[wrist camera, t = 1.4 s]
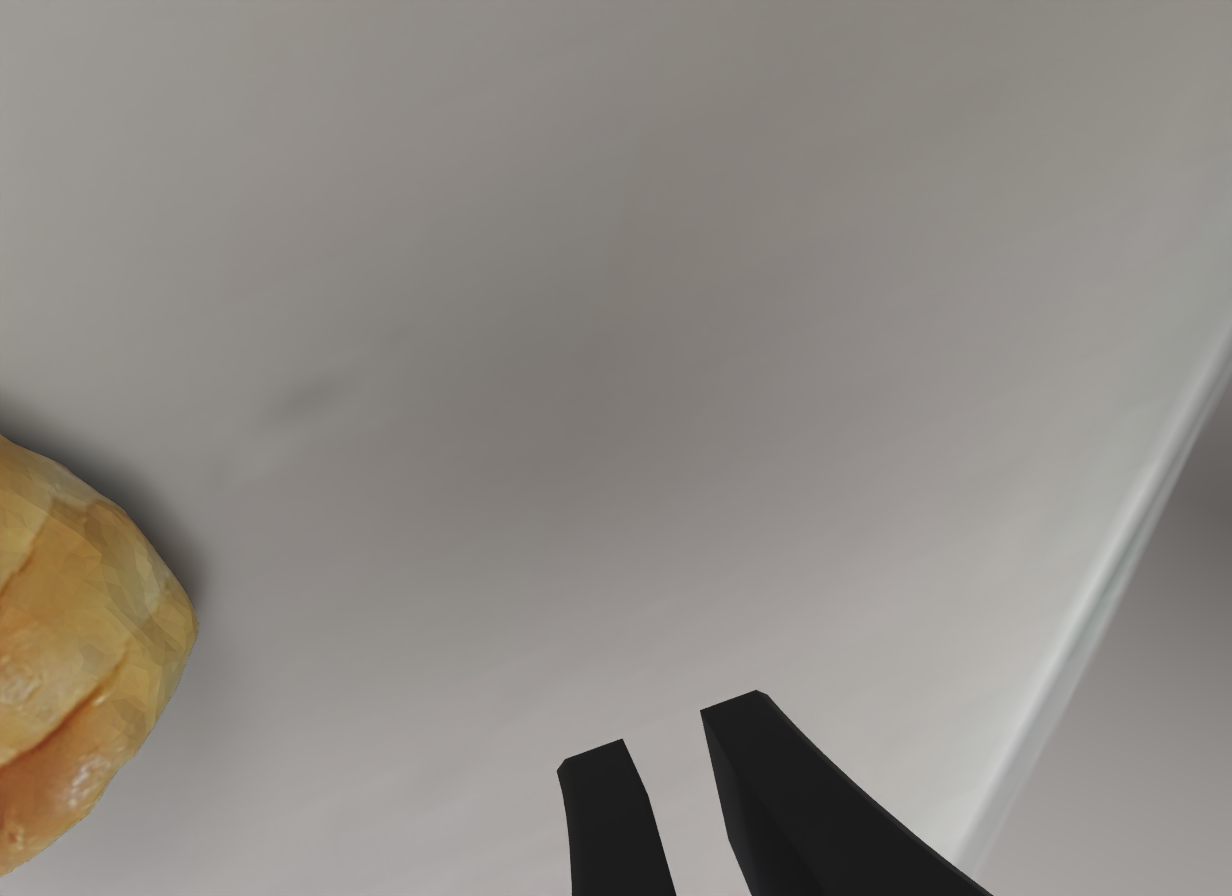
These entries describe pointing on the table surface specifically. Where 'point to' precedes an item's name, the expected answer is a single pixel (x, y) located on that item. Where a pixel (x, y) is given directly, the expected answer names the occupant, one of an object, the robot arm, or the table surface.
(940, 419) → the table surface
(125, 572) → the pastry
